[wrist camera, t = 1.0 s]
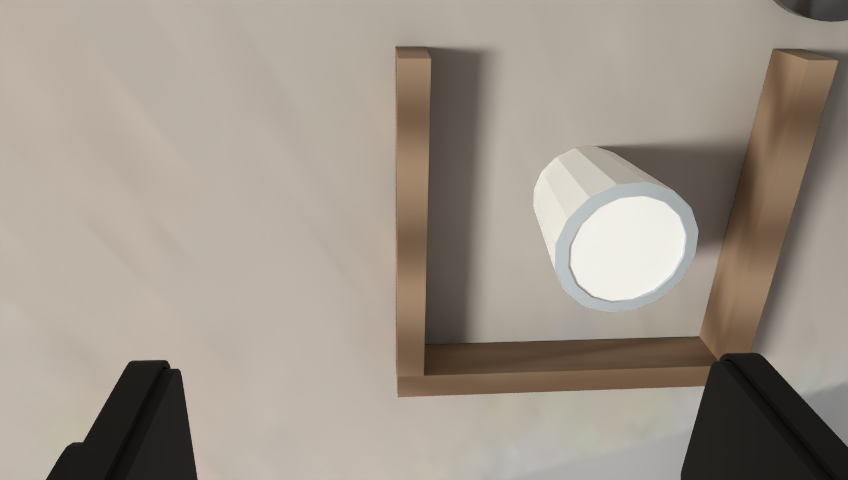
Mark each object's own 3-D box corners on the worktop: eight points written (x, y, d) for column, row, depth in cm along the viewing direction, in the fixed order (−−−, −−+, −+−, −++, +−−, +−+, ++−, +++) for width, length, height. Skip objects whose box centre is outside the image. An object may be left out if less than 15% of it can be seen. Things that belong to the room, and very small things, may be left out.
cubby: (395, 46, 31) (398, 58, 29) (800, 49, 33) (838, 60, 30) (396, 365, 40) (397, 396, 38) (716, 354, 42) (740, 384, 39)
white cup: (663, 202, 37) (724, 260, 30) (562, 269, 38) (600, 337, 32) (604, 109, 34) (657, 152, 28) (498, 185, 35) (526, 242, 29)
